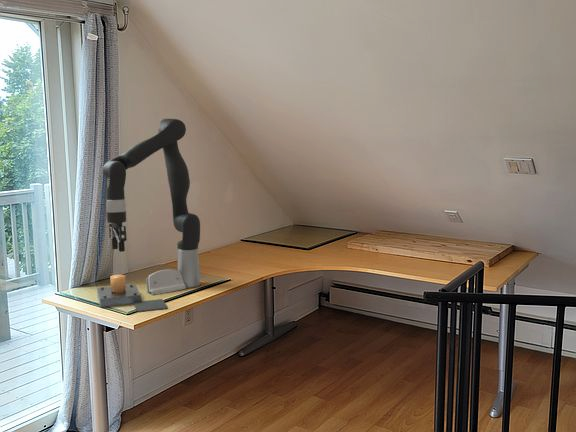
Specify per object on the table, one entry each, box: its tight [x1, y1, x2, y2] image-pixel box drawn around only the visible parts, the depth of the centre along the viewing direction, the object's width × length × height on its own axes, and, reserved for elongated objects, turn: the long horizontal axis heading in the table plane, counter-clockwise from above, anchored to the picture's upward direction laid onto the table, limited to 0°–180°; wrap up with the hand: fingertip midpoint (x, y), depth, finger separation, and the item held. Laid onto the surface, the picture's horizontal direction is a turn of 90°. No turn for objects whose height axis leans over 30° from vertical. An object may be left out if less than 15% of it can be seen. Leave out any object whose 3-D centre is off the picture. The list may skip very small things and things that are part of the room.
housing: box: [96, 284, 142, 308], centre depth 254 cm, size 16×16×4 cm
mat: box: [133, 298, 169, 313], centre depth 247 cm, size 12×12×1 cm
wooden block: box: [109, 274, 127, 294], centre depth 254 cm, size 6×6×10 cm
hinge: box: [146, 268, 187, 296], centre depth 268 cm, size 17×5×10 cm, turn 125°
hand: (118, 250), depth 247 cm, fingers open, 8 cm apart
